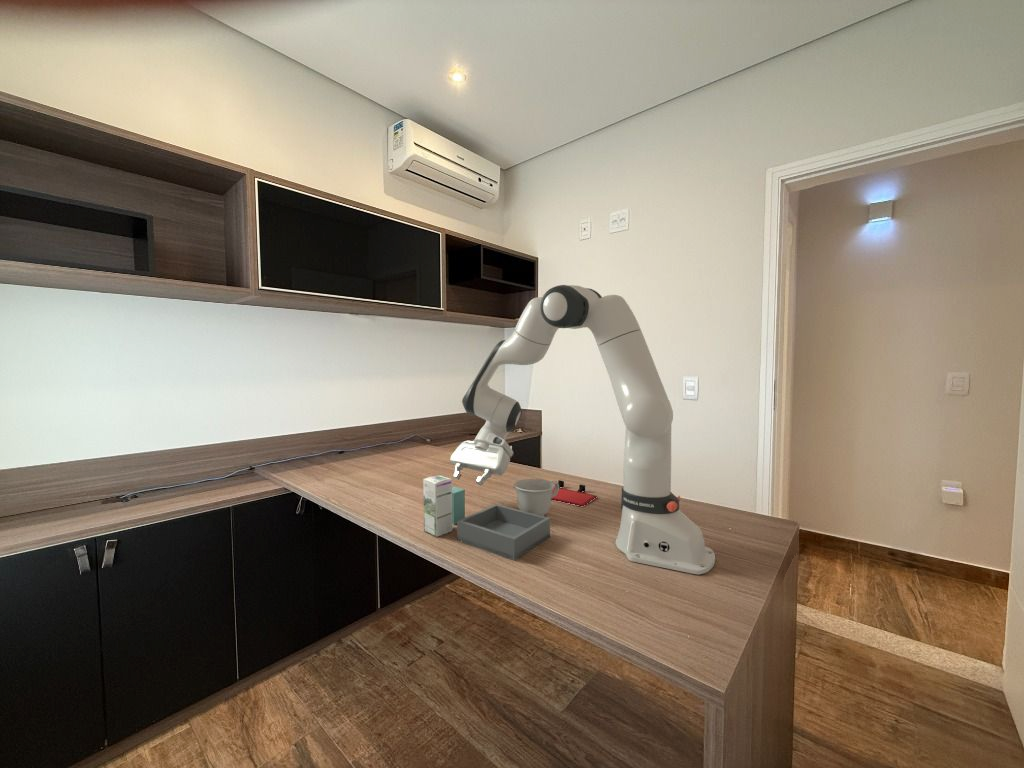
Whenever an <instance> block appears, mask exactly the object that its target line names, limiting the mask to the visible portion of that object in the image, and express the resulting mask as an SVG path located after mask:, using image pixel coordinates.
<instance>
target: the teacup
mask: <svg viewBox="0 0 1024 768" xmlns="http://www.w3.org/2000/svg"><path fill="white" fill-rule="evenodd" d="M513 486H514V487H515V490H516V499H517V505H518V510H521V511H525V512H529V513H532V514H536V515H540V516H544V517H545V515H547V513H548V512H549V511H550V508H551V504H552V500H551V499H552V498H553V497H554V496H556V495H557V493H558V491H559V484H558V481H557V480H556V481H555V480H553V481H549V480H546V479H542V478H541V479H539V478H527V479H526V478H525V479H520V480H518V481H516V482H514V484H513ZM554 487H555V490H554V492H553V493H552V490H553V488H554Z"/></svg>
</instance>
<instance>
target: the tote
mask: <svg viewBox="0 0 1024 768" xmlns="http://www.w3.org/2000/svg"><path fill="white" fill-rule="evenodd" d="M549 538H551V518H550V517H548V516H545V515H544V516H540V515H536V514H532V513H529V512H525V511H521V510H520V509H516V508H513V507H509V506H505V505H503V504H502V505H501V504H497V503H495V504H492V505H490V506H488V507H486V508H484V509H482V510H479V511H477V512H475V513H472V514H470V515H468V516H465V518H463V519H461V520H458V521H457V524H456V540H457V541H458V540H459V541H458V542H460V541H462V542H461V543H463V542H464V544H466V543H467V544H466V545H469V546H472V545H473V546H472V547H475V548H477V547H478V549H480V548H481V550H483V549H484V550H483V551H486V552H489V553H491V552H492V554H495V555H498V556H500V557H503V558H506V559H509V560H511V561H516V560H517V559H520V557H522V556H523V555H525V554H526V553H528V552H530V551H531V550H533V549H534V548H536V547H538V545H541V544H542V543H543V542H545V541H547V540H548V539H549Z"/></svg>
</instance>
